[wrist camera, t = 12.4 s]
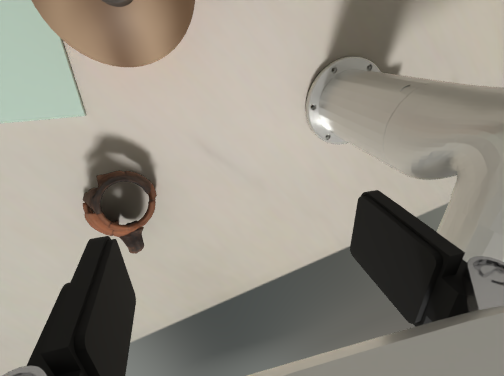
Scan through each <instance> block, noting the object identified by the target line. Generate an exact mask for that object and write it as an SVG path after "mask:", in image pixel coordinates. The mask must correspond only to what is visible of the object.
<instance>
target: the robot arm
mask: <svg viewBox="0 0 504 376" xmlns="http://www.w3.org/2000/svg"><path fill="white" fill-rule="evenodd" d="M332 69H333V70H332ZM331 70H332V71H331ZM311 105H312V107H311ZM306 117H307V120H308V124H309V126H310V128H311V130H312V131H313V132H314V133H315V135H316V136H318V137H319V138H320V139H322V140H323V141H325V142H328V143H331V144H339V145H340V144H347V143H350V144H352V145H353V146H355V147H357V148H359V149H360V150H362V151H364V152H366V153H367V154H369V155H371V156H373V157H374V158H376V159H378V160H380V161H381V162H383V163H385V164H387V165H388V166H390V167H392V168H394V169H396V170H397V171H399V172H401V173H403V174H405V175H407V176H409V177H412V178H416V179H422V180H435V179H443V178H448V177H452V176H456V175H457V181H456V184H455V186H454V189H453V192H452V194H451V200H450V202H449V204H448V207H447V209H446V211H445V214H444V216H443V218H442V221H441V223H440V225H439V228H438V230H437V232H436V231H434V230H433V229H432V228H430V227H429V226H427V225H426V224H425V223H423V222H422V221H420V220H419V219H418V218H416V217H415V216H413V215H412V214H411V213H409V212H408V211H407V210H405V209H404V208H402V207H401V206H400V205H398V204H397V203H395V202H394V201H393V200H391V199H390V198H388V197H387V196H386V195H384V194H383V193H381V192H380V191H378V190H375V191H369V192H364V193H363V194H362V195H361V197H359V199H358V203H357V209H356V216H355V222H354V228H353V234H352V240H351V246H350V251H351V254H352V256H353V257H354V258H355V259H356V261H357V262H358V263H359V264H360V265H361V267H362V268H363V269H364V270H365V271H366V273H367V274H368V275H369V276H370V277H371V278H372V280H373V281H374V282H375V283H376V284H377V285H378V287H379V288H380V289H381V290H382V292H383V293H384V294H385V295H386V296H387V297H388V299H389V300H390V301H391V302H392V303H393V305H394V306H395V307H396V308H397V309H398V311H399V312H400V313H401V314H402V315H403V317H404V318H405V319H406V320H407V321H408V322H409V323H411V324H414V325H415V327H414V328H410V329H407V330H403V331H400V332H396V333H392V334H389V335H385V336H382V337H378V338H374V339H371V340H367V341H364V342H360V343H357V344H354V345H350V346H347V347H343V348H340V349H336V350H333V351H329V352H326V353H323V354H319V355H316V356H312V357H309V358H305V359H302V360H298V361H295V362H292V363H288V364H285V365H281V366H278V367H274V368H271V369H268V370H264V371H261V372H257V373H254V374H251V375H247V376H504V88H502V87H487V86H476V85H467V84H459V83H452V82H444V81H437V80H430V79H423V78H415V77H408V76H401V75H394V74H387V73H381V71H380V70H379V68H378V67H377V66H376V65H375V64H374V63H373V62H371V61H370V60H368V59H365V58H362V57H344V58H341V59H338V60H336V61H334V62H332V63H330V64H329V65H328V66H327V67H325V68H324V69H323V70H322V71H321V72H320V73H319V75H318V76H317V77H316V79H315V80H314V82H313V83H312V86H311V88H310V90H309V93H308V97H307V101H306ZM135 305H136V297H135V292H134V290H133V287H132V284H131V281H130V278H129V275H128V272H127V269H126V266H125V263H124V260H123V257H122V254H121V251H120V248H119V246H118V243H117V240H116V239H113V240H111V238H110V237H109V236H105V237H99V238H94V239H90V240H89V241H88V243H87V246H86V248H85V250H84V253H83V255H82V257H81V260H80V262H79V264H78V267H77V269H76V271H75V273H74V276H73V278H72V280H71V283H67V284H65V285H64V286H63V288H62V289H61V292H60V294H59V296H58V298H57V300H56V303H55V305H54V307H53V309H52V311H51V314H50V316H49V318H48V320H47V322H46V325H45V327H44V329H43V331H42V333H41V335H40V338H39V340H38V342H37V344H36V346H35V349H34V351H33V353H32V355H31V357H30V360H29V362H28V364H27V366H24V367H19V368H17V369H14V370H12V371H10V372H8V373H6V374H4V375H3V376H125V372H126V366H127V360H128V352H129V346H130V339H131V332H132V325H133V318H134V312H135Z"/></svg>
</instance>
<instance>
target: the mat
mask: <svg viewBox="0 0 504 376" xmlns="http://www.w3.org/2000/svg"><path fill="white" fill-rule="evenodd" d="M85 115H86V113H85V110H84V107H83V104H82V101H81V97H80V94H79V91H78V88H77V85H76V82H75V79H74V76H73V72H72V69H71V66H70V63H69V60H68V57H67V54H66V51H65V47H64V44H63V41H62V39H61V38H60V37H59V36H58V35H57V34H56V33H55V32H54V31H53V30H52V29H51V28H50V27H49V25H48V24H47V23H46V22H45V20H44V19H43V18H42V17H41V15H40V14H39V12H38V11H37V9H36V8H35V6H34V4H33V2H32V1H31V0H0V123H11V122H22V121H33V120H44V119H56V118H67V117H78V116H85Z"/></svg>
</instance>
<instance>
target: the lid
mask: <svg viewBox="0 0 504 376" xmlns="http://www.w3.org/2000/svg"><path fill="white" fill-rule="evenodd" d="M31 1H32V2H33V4H34V6H35V8H36V9H37V11H38V12H39V14H40V15H41V17H42V18H43V19H44V20H45V22H46V23H47V24H48V25H49V27H50V28H51V29H52V30H53V31H54V32H55V33H56V34H57V35H58V36H59V37H60V38H61V39H62V40H64V41H65V42H66V43H67V44H68V45H70V46H71V47H72V48H74V49H75V50H77V51H78V52H80V53H82V54H83V55H85V56H87V57H89V58H91V59H94V60H96V61H99V62H101V63H104V64H108V65H112V66H119V67H138V66H144V65H147V64H151V63H153V62H156V61H158V60H160V59H162V58H163V57H165V56H166V55H168V54H169V53H170V52H171V51H172V50H173V49H175V47H176V46H177V45H178V44H179V43H180V41H181V40H182V38H183V37H184V35H185V34H186V31H187V29H188V27H189V25H190V22H191V18H192V15H193V10H194V4H195V0H31Z"/></svg>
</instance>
